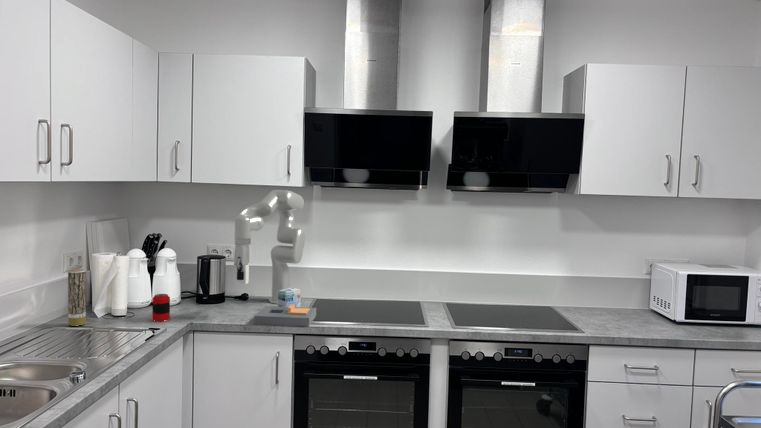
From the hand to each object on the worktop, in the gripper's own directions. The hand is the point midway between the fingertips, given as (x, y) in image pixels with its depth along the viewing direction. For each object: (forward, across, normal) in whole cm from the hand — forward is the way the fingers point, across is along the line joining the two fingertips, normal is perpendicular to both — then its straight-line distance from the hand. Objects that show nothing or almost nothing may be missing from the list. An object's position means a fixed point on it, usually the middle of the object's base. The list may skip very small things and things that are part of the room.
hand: (242, 278), depth 254 cm
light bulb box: (+20, -18, +19) cm, 33 cm away
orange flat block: (+15, +2, +29) cm, 33 cm away
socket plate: (+19, +2, +23) cm, 30 cm away
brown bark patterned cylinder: (+19, +26, -67) cm, 74 cm away
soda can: (+19, +12, -35) cm, 42 cm away
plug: (+3, 0, 0) cm, 3 cm away
